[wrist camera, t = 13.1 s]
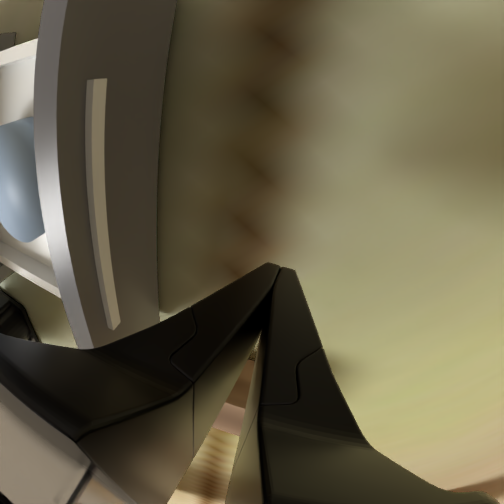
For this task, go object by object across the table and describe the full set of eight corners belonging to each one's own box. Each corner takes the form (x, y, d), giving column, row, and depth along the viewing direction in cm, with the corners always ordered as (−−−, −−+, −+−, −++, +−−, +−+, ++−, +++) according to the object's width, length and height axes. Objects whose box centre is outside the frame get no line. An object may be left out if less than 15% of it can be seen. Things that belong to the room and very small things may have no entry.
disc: (78, 237, 14) (52, 255, 13) (17, 216, 15) (-5, 229, 14) (67, 114, 11) (34, 123, 9) (5, 119, 12) (-22, 128, 10)
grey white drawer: (164, 323, 18) (114, 393, 13) (-6, 241, 21) (-49, 273, 16) (185, -7, 9) (85, -44, 4) (-23, 51, 12) (-81, 66, 7)
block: (278, 403, 20) (265, 444, 17) (224, 386, 21) (207, 425, 18) (292, 372, 18) (280, 419, 15) (230, 353, 18) (210, 397, 16)
